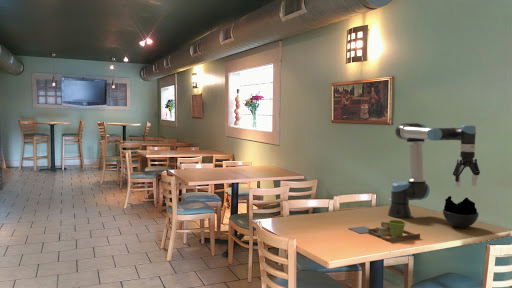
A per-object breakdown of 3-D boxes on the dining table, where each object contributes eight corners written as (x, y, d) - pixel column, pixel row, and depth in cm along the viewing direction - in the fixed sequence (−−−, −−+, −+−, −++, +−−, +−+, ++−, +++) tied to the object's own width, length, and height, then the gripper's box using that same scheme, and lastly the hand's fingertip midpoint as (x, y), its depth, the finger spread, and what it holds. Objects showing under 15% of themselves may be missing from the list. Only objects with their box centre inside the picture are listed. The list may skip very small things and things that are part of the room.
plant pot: (408, 236, 232) (408, 221, 232) (401, 240, 225) (401, 225, 225) (392, 233, 239) (392, 219, 238) (385, 237, 232) (385, 222, 231)
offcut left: (375, 233, 239) (375, 226, 239) (383, 232, 241) (383, 225, 241) (379, 235, 235) (380, 228, 235) (388, 234, 238) (388, 227, 238)
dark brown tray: (368, 233, 239) (368, 229, 239) (396, 229, 247) (396, 225, 247) (390, 242, 222) (390, 237, 221) (420, 238, 229) (420, 233, 229)
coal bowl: (485, 229, 248) (486, 199, 247) (460, 232, 241) (462, 201, 240) (458, 222, 267) (460, 193, 266) (435, 224, 260) (436, 195, 259)
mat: (348, 228, 249) (348, 228, 249) (364, 226, 253) (364, 226, 253) (360, 233, 238) (360, 233, 238) (376, 231, 242) (376, 231, 242)
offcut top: (381, 226, 240) (381, 221, 240) (387, 225, 242) (387, 220, 242) (385, 227, 237) (385, 222, 237) (392, 227, 239) (392, 222, 238)
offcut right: (385, 232, 242) (385, 225, 242) (393, 231, 244) (393, 224, 244) (389, 234, 238) (390, 227, 238) (398, 233, 240) (398, 226, 240)
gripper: (458, 152, 233) (456, 188, 234) (487, 151, 243) (486, 186, 244) (447, 151, 239) (445, 186, 241) (476, 150, 249) (474, 184, 251)
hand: (465, 186), depth 243 cm, fingers open, 13 cm apart
